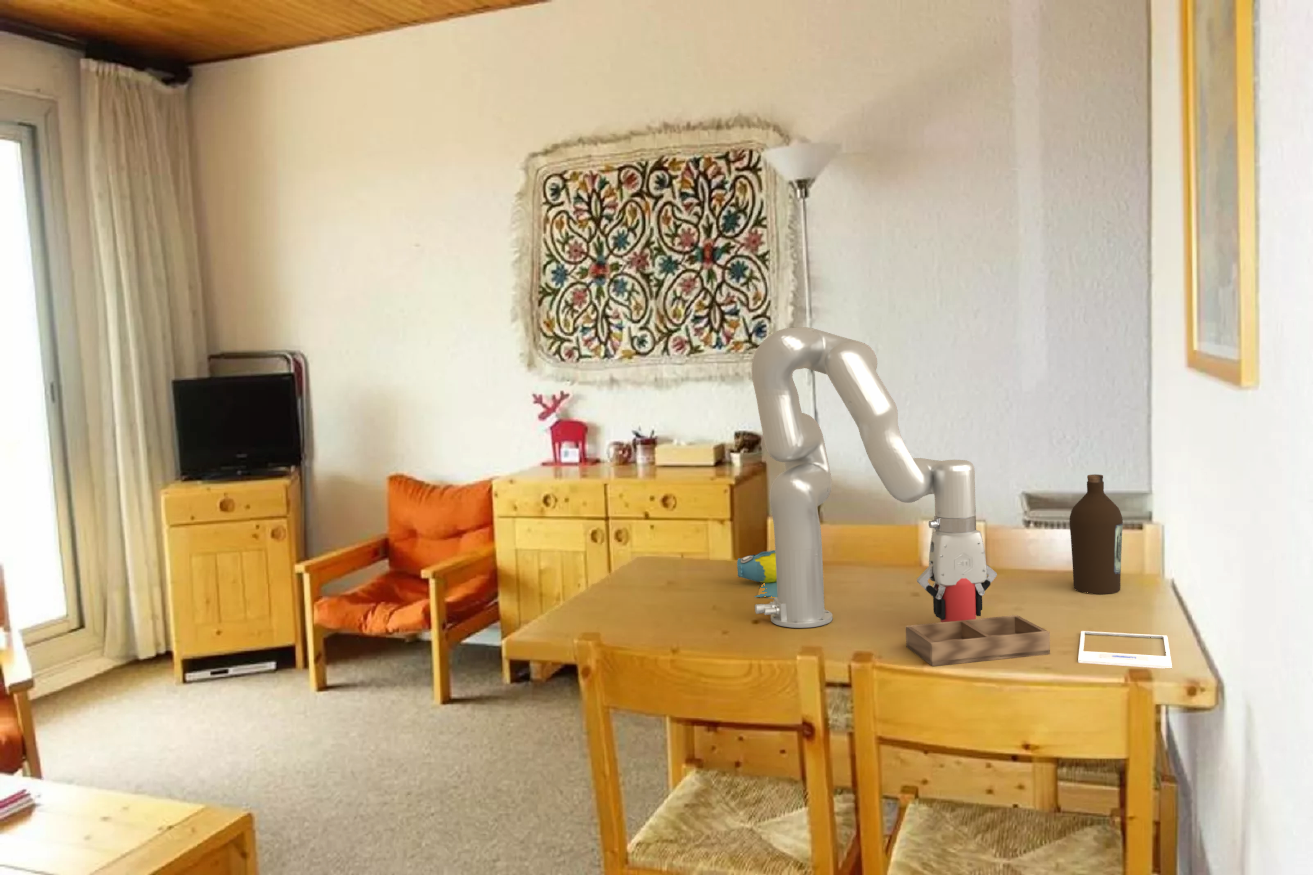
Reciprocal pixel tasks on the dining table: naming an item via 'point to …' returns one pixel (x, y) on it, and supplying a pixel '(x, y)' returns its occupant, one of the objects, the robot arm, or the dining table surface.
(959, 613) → the beer can
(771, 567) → the fish figurine
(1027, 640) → the crate
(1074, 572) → the olive oil
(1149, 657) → the photo frame
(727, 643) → the dining table surface
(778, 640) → the dining table surface
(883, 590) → the dining table surface
